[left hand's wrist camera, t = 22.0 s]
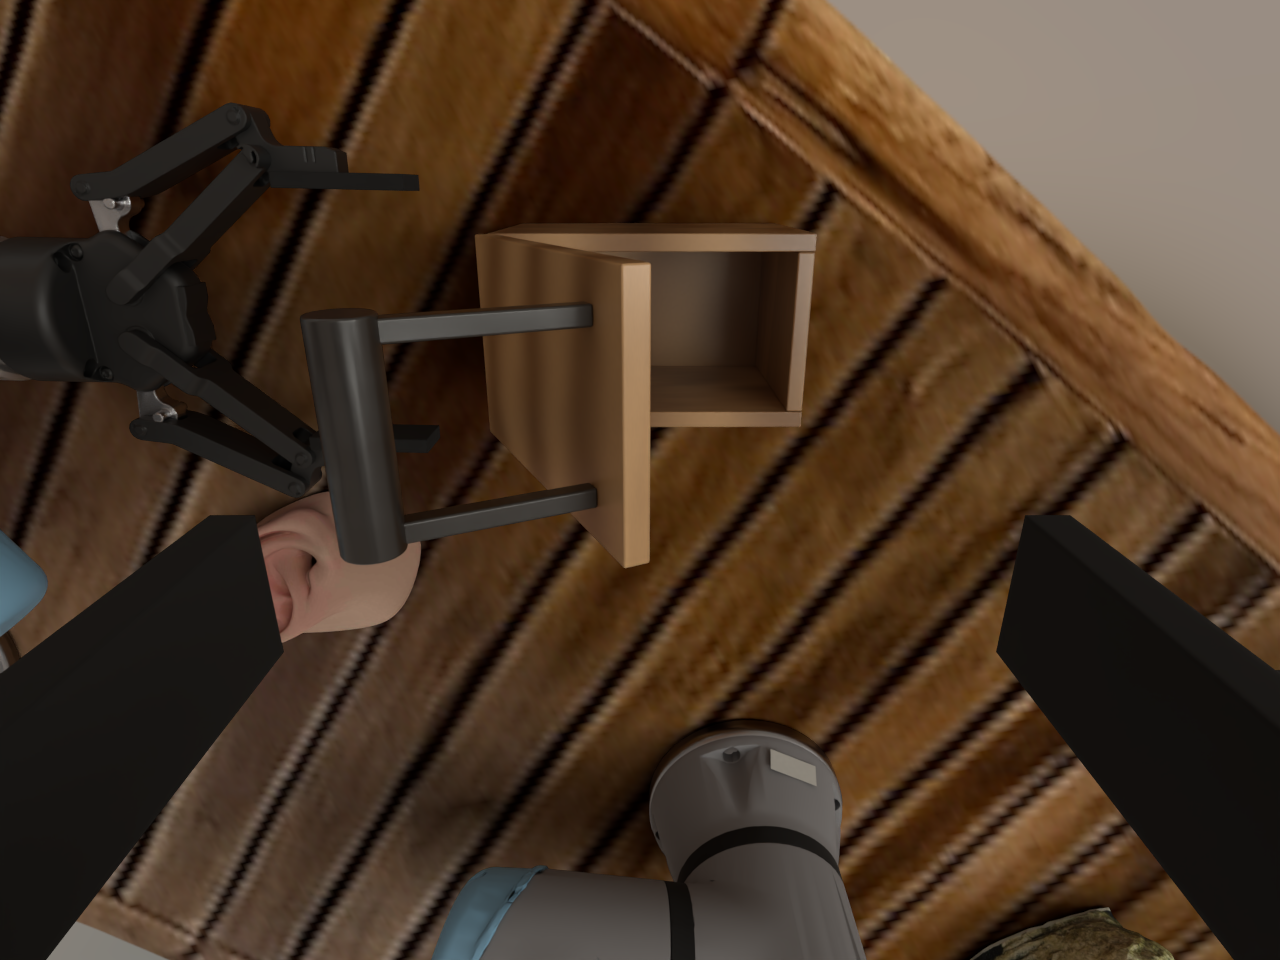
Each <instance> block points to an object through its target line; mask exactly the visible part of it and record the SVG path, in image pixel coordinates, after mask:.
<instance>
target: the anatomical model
mask: <svg viewBox="0 0 1280 960" xmlns="http://www.w3.org/2000/svg"><path fill="white" fill-rule="evenodd" d="M257 528H258V533H259V538H260V542H261V547H262V552H263V556H264V561H265V566H266V571H267V575H268V580H269V585H270V589H271V594H272V599H273V604H274V608H275V613H276V618H277V622H278V627H279V632H280V636H281V641H282V643H283V642H285V641H287V640H290V639H292V638H294V637H296V636H298V635H300V634H301V633H310V632H330V631H341V630H350V629H358V628H364V627H369V626H373V625H377V624H380V623H383V622H385V621H387V620H388V619H390V618H392V617H393V616H394V615H395V614H396V613H397V612H398V611H399V610H400V609H401V608H402V606H403V605H404V603H405V602H406V600H407V598H408V596H409V594H410V592H411V590H412V587H413V584H414V581H415V578H416V575H417V571H418V567H419V562H420V555H421V544H420V542H415V543H410V544H408V547H407V549H406V551H405V552H404V553H403V554H402V555H400V556H399V557H397V558H395V559H392V560H390V561H387V562H383V563H379V564H373V565H355V564H350V563H347V562H345V561H344V560H343V559H342V558H341V557H340V553H339V547H338V541H337V535H336V529H335V523H334V518H333V512H332V506H331V500H330V494H329V492H322V493H318V494H314V495H311V496H309V497H306V498H303V499H301V500H298V501H296V502H294V503H292V504H289V505H287V506H285V507H283V508H281V509H279V510H277V511H275V512H274V513H272V514H270V515H269V516H267V517H265V518H264V519H263V520H262V521H260V522H259V523H258V524H257Z"/></svg>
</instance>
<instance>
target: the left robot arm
mask: <svg viewBox="0 0 1280 960" xmlns="http://www.w3.org/2000/svg"><path fill="white" fill-rule="evenodd" d="M283 652H284V651H283V646H282V641H281V636H280V632H279V627H278V622H277V618H276V613H275V608H274V604H273V599H272V594H271V589H270V585H269V580H268V575H267V571H266V566H265V561H264V556H263V552H262V547H261V542H260V538H259V533H258V528H257V524H256V519H255V515H210V516H208V517H207V518H206V519H204V520H203V521H202V522H200V523H199V524H198V525H196V526H195V527H194V528H192V529H191V530H190V531H188V532H187V533H186V534H185V535H183V536H182V537H181V538H179V539H178V540H177V541H175V542H174V543H173V544H171V545H170V546H169V547H167V548H166V549H165V550H163V551H162V552H161V553H159V554H158V555H157V556H155V557H154V558H153V559H151V560H150V561H149V562H147V563H146V564H145V565H143V566H142V567H141V568H139V569H138V570H137V571H136V572H134V573H133V574H132V575H130V576H129V577H128V578H126V579H125V580H124V581H122V582H121V583H120V584H118V585H117V586H116V587H114V588H113V589H112V590H110V591H109V592H108V593H106V594H105V595H104V596H102V597H101V598H100V599H98V600H97V601H96V602H94V603H93V604H92V605H91V606H89V607H88V608H87V609H85V610H84V611H83V612H81V613H80V614H79V615H77V616H76V617H75V618H73V619H72V620H71V621H69V622H68V623H67V624H65V625H64V626H63V627H61V628H60V629H59V630H57V631H56V632H55V633H53V634H52V635H51V636H49V637H48V638H47V639H45V640H44V641H43V642H42V643H40V644H39V645H38V646H36V647H35V648H34V649H32V650H31V651H30V652H28V653H27V654H26V655H24V656H23V657H22V658H20V659H19V660H18V661H16V662H15V663H14V664H12V665H11V666H10V667H8V668H7V669H6V670H4V671H3V672H2V673H0V960H46V959H47V958H48V957H49V955H50V954H51V953H52V951H53V950H54V949H55V948H56V946H57V945H58V944H59V942H60V941H61V940H62V938H63V937H64V936H65V935H66V933H67V932H68V931H69V929H70V928H71V927H72V926H73V924H74V923H75V922H76V920H77V919H78V918H79V916H80V915H81V914H82V913H83V911H84V910H85V909H86V907H87V906H88V905H89V904H90V902H91V901H92V900H93V898H94V897H95V896H96V894H97V893H98V892H99V891H100V889H101V888H102V887H103V885H104V884H105V883H106V882H107V880H108V879H109V878H110V876H111V875H112V874H113V872H114V871H115V870H116V869H117V867H118V866H119V865H120V863H121V862H122V861H123V859H124V858H125V857H126V856H127V854H128V853H129V852H130V850H131V849H132V848H133V847H134V845H135V844H136V843H137V841H138V840H139V839H140V837H141V836H142V835H143V834H144V832H145V831H146V830H147V828H148V827H149V826H150V825H151V823H152V822H153V821H154V819H155V818H156V817H157V815H158V814H159V813H160V812H161V810H162V809H163V808H164V806H165V805H166V804H167V802H168V801H169V800H170V799H171V797H172V796H173V795H174V793H175V792H176V791H177V790H178V788H179V787H180V786H181V784H182V783H183V782H184V780H185V779H186V778H187V777H188V775H189V774H190V773H191V771H192V770H193V769H194V768H195V766H196V765H197V764H198V762H199V761H200V760H201V758H202V757H203V756H204V755H205V753H206V752H207V751H208V749H209V748H210V747H211V745H212V744H213V743H214V742H215V740H216V739H217V738H218V736H219V735H220V734H221V733H222V731H223V730H224V729H225V727H226V726H227V725H228V723H229V722H230V721H231V720H232V718H233V717H234V716H235V714H236V713H237V712H238V711H239V709H240V708H241V707H242V705H243V704H244V703H245V701H246V700H247V699H248V698H249V696H250V695H251V694H252V692H253V691H254V690H255V689H256V687H257V686H258V685H259V683H260V682H261V681H262V679H263V678H264V677H265V676H266V674H267V673H268V672H269V670H270V669H271V668H272V666H273V665H274V664H275V663H276V661H277V660H278V659H279V657H280V656H281V655H282V654H283ZM996 652H997V654H998V655H999V656H1000V657H1001V659H1002V660H1003V661H1004V663H1005V664H1006V665H1007V666H1008V668H1009V669H1010V670H1011V672H1012V673H1013V674H1014V676H1015V677H1016V678H1017V679H1018V681H1019V682H1020V683H1021V685H1022V686H1023V687H1024V689H1025V690H1026V691H1027V692H1028V694H1029V695H1030V696H1031V698H1032V699H1033V700H1034V701H1035V703H1036V704H1037V705H1038V707H1039V708H1040V709H1041V711H1042V712H1043V713H1044V714H1045V716H1046V717H1047V718H1048V720H1049V721H1050V722H1051V723H1052V725H1053V726H1054V727H1055V729H1056V730H1057V731H1058V733H1059V734H1060V735H1061V736H1062V738H1063V739H1064V740H1065V742H1066V743H1067V744H1068V745H1069V747H1070V748H1071V749H1072V751H1073V752H1074V753H1075V755H1076V756H1077V757H1078V758H1079V760H1080V761H1081V762H1082V764H1083V765H1084V766H1085V768H1086V769H1087V770H1088V771H1089V773H1090V774H1091V775H1092V777H1093V778H1094V779H1095V780H1096V782H1097V783H1098V784H1099V786H1100V787H1101V788H1102V790H1103V791H1104V792H1105V793H1106V795H1107V796H1108V797H1109V799H1110V800H1111V801H1112V802H1113V804H1114V805H1115V806H1116V808H1117V809H1118V810H1119V812H1120V813H1121V814H1122V815H1123V817H1124V818H1125V819H1126V821H1127V822H1128V823H1129V825H1130V826H1131V827H1132V828H1133V830H1134V831H1135V832H1136V834H1137V835H1138V836H1139V837H1140V839H1141V840H1142V841H1143V843H1144V844H1145V845H1146V847H1147V848H1148V849H1149V850H1150V852H1151V853H1152V854H1153V856H1154V857H1155V858H1156V859H1157V861H1158V862H1159V863H1160V865H1161V866H1162V867H1163V869H1164V870H1165V871H1166V872H1167V874H1168V875H1169V876H1170V878H1171V879H1172V880H1173V882H1174V883H1175V884H1176V885H1177V887H1178V888H1179V889H1180V891H1181V892H1182V893H1183V894H1184V896H1185V897H1186V898H1187V900H1188V901H1189V902H1190V904H1191V905H1192V906H1193V907H1194V909H1195V910H1196V911H1197V913H1198V914H1199V915H1200V916H1201V918H1202V919H1203V920H1204V922H1205V923H1206V924H1207V926H1208V927H1209V928H1210V929H1211V931H1212V932H1213V933H1214V935H1215V936H1216V937H1217V938H1218V940H1219V941H1220V942H1221V944H1222V945H1223V946H1224V948H1225V949H1226V950H1227V951H1228V953H1229V954H1230V955H1231V957H1232V958H1233V959H1234V960H1280V670H1274V669H1273V668H1272V667H1270V666H1269V665H1268V664H1266V663H1265V662H1264V661H1262V660H1261V659H1260V658H1258V657H1257V656H1256V655H1254V654H1253V653H1252V652H1250V651H1249V650H1248V649H1246V648H1245V647H1244V646H1242V645H1241V644H1240V643H1238V642H1237V641H1236V640H1235V639H1233V638H1232V637H1231V636H1229V635H1228V634H1227V633H1225V632H1224V631H1223V630H1221V629H1220V628H1219V627H1217V626H1216V625H1215V624H1213V623H1212V622H1211V621H1209V620H1208V619H1207V618H1205V617H1204V616H1203V615H1201V614H1200V613H1199V612H1197V611H1196V610H1195V609H1193V608H1192V607H1191V606H1189V605H1188V604H1187V603H1186V602H1184V601H1183V600H1182V599H1180V598H1179V597H1178V596H1176V595H1175V594H1174V593H1172V592H1171V591H1170V590H1168V589H1167V588H1166V587H1164V586H1163V585H1162V584H1160V583H1159V582H1158V581H1156V580H1155V579H1154V578H1152V577H1151V576H1150V575H1148V574H1147V573H1146V572H1144V571H1143V570H1142V569H1141V568H1139V567H1138V566H1137V565H1135V564H1134V563H1133V562H1131V561H1130V560H1129V559H1127V558H1126V557H1125V556H1123V555H1122V554H1121V553H1119V552H1118V551H1117V550H1115V549H1114V548H1113V547H1111V546H1110V545H1109V544H1107V543H1106V542H1105V541H1103V540H1102V539H1101V538H1099V537H1098V536H1097V535H1095V534H1094V533H1093V532H1092V531H1090V530H1089V529H1088V528H1086V527H1085V526H1084V525H1082V524H1081V523H1080V522H1078V521H1077V520H1076V519H1074V518H1073V517H1072V516H1070V515H1025V519H1024V524H1023V528H1022V533H1021V538H1020V542H1019V547H1018V552H1017V556H1016V561H1015V566H1014V571H1013V575H1012V580H1011V585H1010V589H1009V594H1008V599H1007V604H1006V608H1005V613H1004V618H1003V622H1002V627H1001V632H1000V636H999V641H998V646H997V651H996ZM649 815H650V823H651V827H652V830H653V833H654V836H655V838H656V841H657V843H658V845H659V847H660V849H661V850H662V852H663V854H664V855H665V856H666V859H667V864H668V867H669V870H670V873H671V875H672V878H673V880H674V882H670V881H662V880H652V879H642V878H633V877H623V876H613V875H604V874H594V873H584V872H574V871H565V870H555V869H548V867H547V866H544V865H539V866H535V867H534V868H508V867H491V868H486V869H484V870H482V871H480V872H478V873H477V874H475V875H474V876H473V877H472V878H471V879H470V880H469V881H468V882H467V883H466V885H465V886H464V887H463V889H462V890H461V891H460V893H459V895H458V897H457V898H456V900H455V902H454V904H453V906H452V908H451V910H450V913H449V915H448V917H447V919H446V922H445V924H444V927H443V929H442V932H441V934H440V937H439V939H438V942H437V945H436V948H435V951H434V953H433V956H432V959H431V960H866V957H865V953H864V950H863V947H862V943H861V940H860V937H859V934H858V930H857V927H856V924H855V920H854V917H853V914H852V911H851V907H850V904H849V901H848V897H847V894H846V891H845V887H844V884H843V881H842V878H841V874H840V871H839V867H838V860H839V846H840V825H841V819H842V795H841V791H840V787H839V784H838V781H837V778H836V775H835V772H834V769H833V767H832V764H831V763H830V761H829V759H828V757H827V756H826V755H825V753H824V752H823V751H822V750H821V748H820V747H819V746H818V745H817V744H815V743H814V742H813V741H812V740H811V739H809V738H808V737H806V736H805V735H803V734H801V733H800V732H798V731H796V730H794V729H791V728H789V727H786V726H783V725H780V724H776V723H772V722H767V721H758V720H737V721H729V722H723V723H719V724H715V725H712V726H709V727H706V728H703V729H701V730H699V731H696V732H695V733H693V734H691V735H689V736H687V737H686V738H684V739H683V740H681V741H680V742H679V743H677V744H676V745H675V746H674V747H673V748H672V749H670V750H669V751H668V753H667V754H666V755H665V756H664V757H663V759H662V760H661V761H660V763H659V764H658V766H657V768H656V770H655V772H654V774H653V777H652V780H651V784H650V790H649Z"/></svg>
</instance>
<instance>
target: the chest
mask: <svg viewBox="0 0 1280 960" xmlns="http://www.w3.org/2000/svg"><path fill="white" fill-rule="evenodd" d="M488 234H496V235H502V236H507V237H513V238H518V239H524V240H529V241H535V242H540V243H546V244H551V245H557V246H562V247H568V248H573V249H579V250H584V251H590V252H595V253H601V254H606V255H612V256H617V257H623V258H628V259H634V260H639V261H645V262H649V263H651V374H650V427H800V426H801V416H802V412H801V410H802V402H803V390H804V379H805V367H806V355H807V343H808V331H809V319H810V307H811V296H812V284H813V272H814V260H815V251H816V239H817V234H816V233H812V232H808V231H804V230H800V229H796V228H792V227H787V226H783V225H779V224H775V223H523V224H519V225H516V226H512V227H509V228H505V229H502V230H498V231H495V232H491V233H488Z"/></svg>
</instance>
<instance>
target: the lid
mask: <svg viewBox="0 0 1280 960" xmlns="http://www.w3.org/2000/svg"><path fill="white" fill-rule="evenodd" d="M475 244H476V257H477V269H478V282H479V295H480V307H481V308H476V309H461V310H446V311H431V312H416V313H401V314H386V315H378V313H377V312H376V311H374V310H370V309H361V308H340V309H327V310H318V311H312V312H308V313H305V314H303V315H301V317H300V323H301V329H302V334H303V340H304V346H305V352H306V358H307V364H308V370H309V376H310V382H311V388H312V394H313V399H314V405H315V411H316V417H317V423H318V429H319V435H320V441H321V447H322V453H323V458H324V464H325V470H326V476H327V482H328V488H329V494H330V500H331V506H332V512H333V518H334V523H335V529H336V535H337V541H338V547H339V553H340V557H341V558H342V559H343V560H344V561H345V562H347V563H350V564H355V565H373V564H379V563H383V562H387V561H390V560H392V559H395V558H397V557H399V556H400V555H402V554H403V553H404V552H405V551H406V549H407V547H408V544H410V543H415V542H420V541H425V540H430V539H436V538H441V537H446V536H451V535H456V534H462V533H467V532H472V531H477V530H482V529H488V528H493V527H498V526H503V525H508V524H514V523H519V522H524V521H529V520H534V519H540V518H545V517H550V516H555V515H560V514H566V513H571V514H572V515H573V516H574V517H575V518H576V519H577V520H578V521H579V522H580V523H581V524H582V525H583V526H584V527H585V528H586V529H587V530H588V531H589V532H590V534H591V535H592V536H593V537H594V538H595V539H596V540H597V541H598V542H599V543H600V544H601V545H602V546H603V547H604V548H605V549H606V550H607V551H608V552H609V553H610V554H611V555H612V556H613V557H614V558H615V559H616V560H617V561H618V562H619V563H620V564H621V565H622V566H623V567H624V568H628V567H632V566H637V565H641V564H645V563H648V562H649V561H650V374H651V263H649V262H645V261H639V260H634V259H628V258H623V257H617V256H612V255H606V254H601V253H595V252H590V251H584V250H579V249H573V248H568V247H562V246H557V245H551V244H546V243H540V242H535V241H529V240H524V239H518V238H513V237H507V236H502V235H496V234H476V235H475ZM480 336H483V345H484V358H485V371H486V383H487V396H488V409H489V421H490V431H491V432H492V433H493V434H494V435H495V437H496V438H497V439H498V440H499V441H500V442H501V443H502V444H503V445H504V446H505V447H506V448H507V449H508V450H509V451H510V452H511V453H512V454H513V455H514V456H515V457H516V458H517V459H518V460H519V461H520V462H521V463H522V464H523V465H524V466H525V467H526V468H527V469H528V470H529V471H530V472H531V473H532V474H533V475H534V476H535V477H536V478H537V479H538V480H539V481H540V482H541V483H542V485H543V486H544V487H545V488H546V489H547V490H544V491H538V492H532V493H527V494H521V495H515V496H510V497H504V498H498V499H493V500H487V501H481V502H476V503H470V504H464V505H459V506H453V507H447V508H442V509H436V510H430V511H425V512H419V513H413V514H408V515H404V509H403V502H402V494H401V486H400V479H399V471H398V463H397V456H396V448H395V440H394V433H393V425H392V417H391V409H390V402H389V394H388V386H387V379H386V371H385V363H384V356H383V348H382V345H383V344H395V343H407V342H420V341H432V340H444V339H456V338H468V337H480Z"/></svg>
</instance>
